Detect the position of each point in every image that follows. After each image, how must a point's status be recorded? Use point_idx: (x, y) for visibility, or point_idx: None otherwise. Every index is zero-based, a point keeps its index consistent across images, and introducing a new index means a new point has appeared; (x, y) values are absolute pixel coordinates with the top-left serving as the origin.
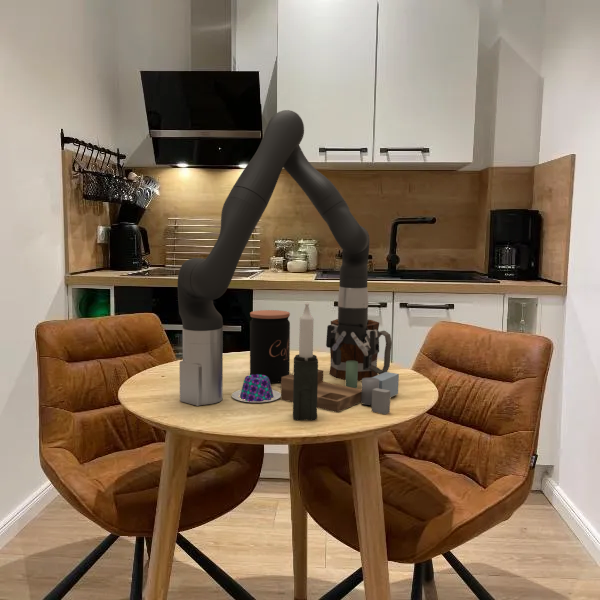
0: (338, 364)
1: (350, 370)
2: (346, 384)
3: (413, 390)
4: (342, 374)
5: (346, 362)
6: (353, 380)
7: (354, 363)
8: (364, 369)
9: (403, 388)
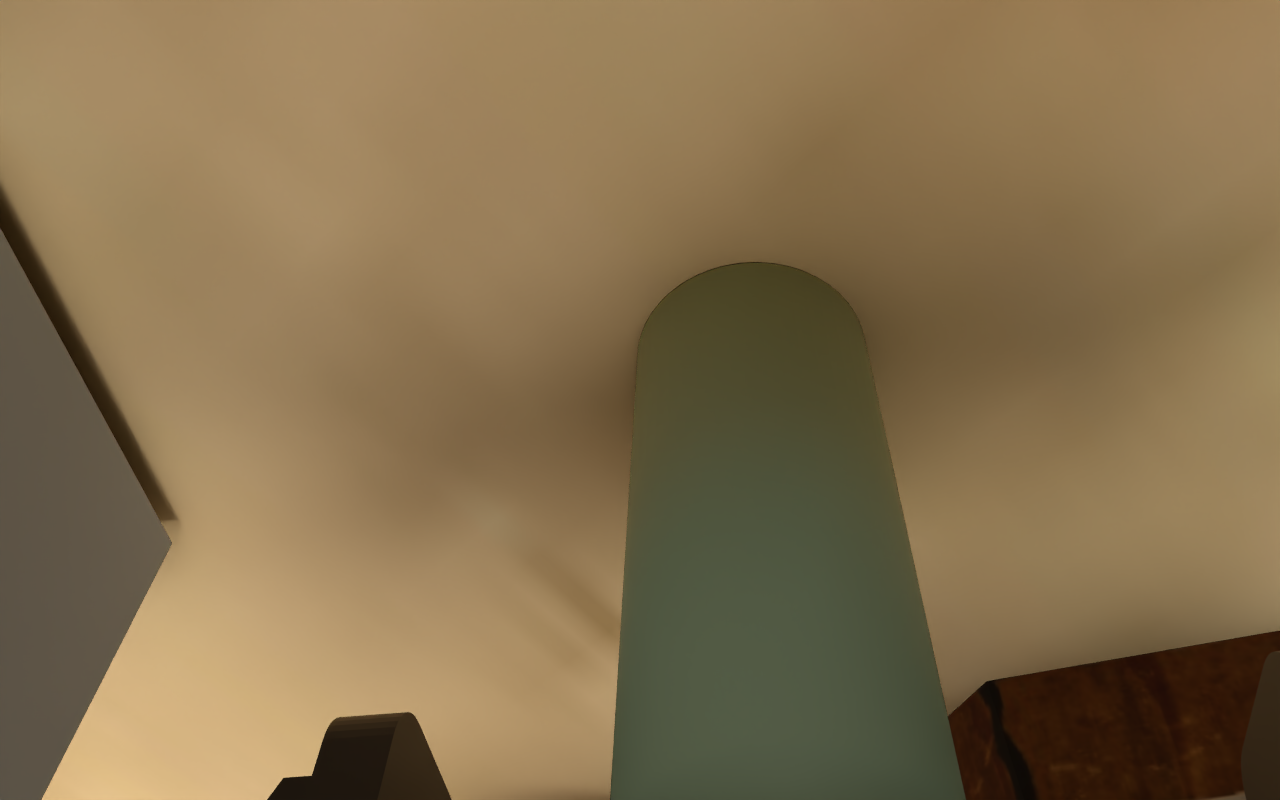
0: (1258, 712)
1: (708, 567)
2: (801, 323)
3: (97, 794)
4: (1240, 719)
5: (898, 749)
6: (648, 432)
7: (624, 790)
8: (359, 721)
9: (240, 789)
